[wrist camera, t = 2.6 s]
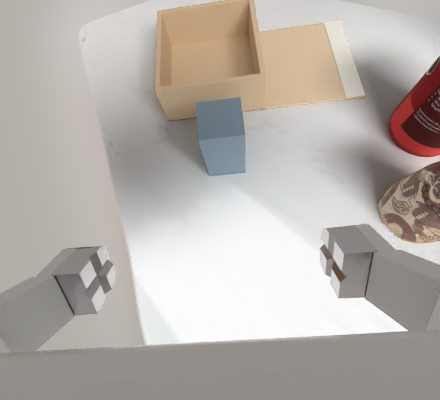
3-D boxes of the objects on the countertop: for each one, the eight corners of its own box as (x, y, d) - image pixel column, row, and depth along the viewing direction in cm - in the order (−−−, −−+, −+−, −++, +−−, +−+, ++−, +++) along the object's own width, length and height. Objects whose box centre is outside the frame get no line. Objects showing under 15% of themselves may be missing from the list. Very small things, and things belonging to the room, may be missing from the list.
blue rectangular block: (241, 141, 32) (240, 97, 24) (245, 172, 30) (244, 135, 23) (207, 145, 32) (196, 102, 25) (209, 176, 31) (197, 140, 23)
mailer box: (338, 23, 37) (353, -20, 32) (363, 97, 32) (386, 61, 27) (169, 47, 39) (157, 10, 34) (168, 120, 34) (154, 91, 29)
